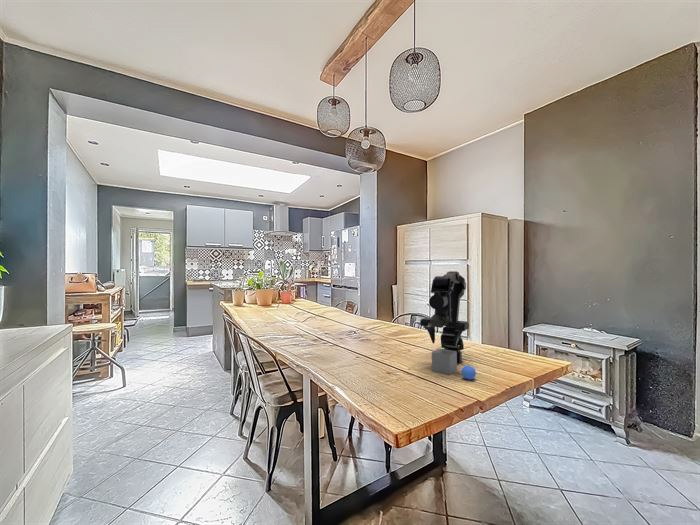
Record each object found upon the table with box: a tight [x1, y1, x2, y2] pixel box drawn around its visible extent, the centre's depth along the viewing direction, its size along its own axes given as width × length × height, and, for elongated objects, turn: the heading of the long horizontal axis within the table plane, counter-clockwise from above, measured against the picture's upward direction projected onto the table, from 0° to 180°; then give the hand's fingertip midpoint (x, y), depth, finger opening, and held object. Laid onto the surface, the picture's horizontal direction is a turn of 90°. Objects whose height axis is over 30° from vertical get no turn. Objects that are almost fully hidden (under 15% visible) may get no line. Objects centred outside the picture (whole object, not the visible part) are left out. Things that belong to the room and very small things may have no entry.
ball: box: [461, 365, 477, 381], centre depth 114 cm, size 5×5×5 cm
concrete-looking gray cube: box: [431, 348, 458, 376], centre depth 124 cm, size 8×8×8 cm
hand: (444, 344), depth 124 cm, fingers open, 9 cm apart
